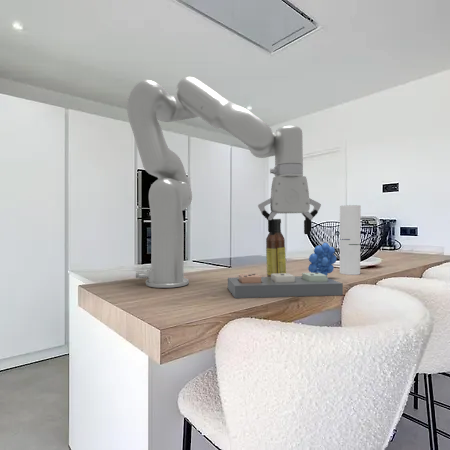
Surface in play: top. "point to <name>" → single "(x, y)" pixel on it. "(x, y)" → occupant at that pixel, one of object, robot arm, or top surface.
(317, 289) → the button board
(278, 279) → the tile one
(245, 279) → the tile three
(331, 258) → the grapes
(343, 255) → the cylindrical container
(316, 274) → the tile two
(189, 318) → the top surface
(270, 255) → the sauce bottle
